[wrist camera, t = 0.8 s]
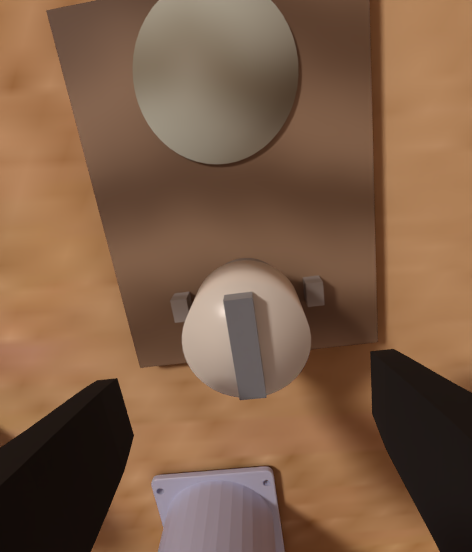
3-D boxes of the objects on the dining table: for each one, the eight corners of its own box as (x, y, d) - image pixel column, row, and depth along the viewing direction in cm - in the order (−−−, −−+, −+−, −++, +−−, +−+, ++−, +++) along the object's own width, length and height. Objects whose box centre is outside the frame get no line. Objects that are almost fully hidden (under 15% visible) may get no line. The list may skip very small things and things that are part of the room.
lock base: (371, 333, 19) (393, 362, 16) (145, 358, 20) (127, 390, 17) (359, -39, 14) (389, -94, 11) (59, 20, 15) (13, -16, 12)
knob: (303, 351, 16) (318, 401, 12) (204, 362, 16) (191, 413, 13) (294, 253, 14) (308, 279, 11) (185, 267, 15) (166, 296, 11)
